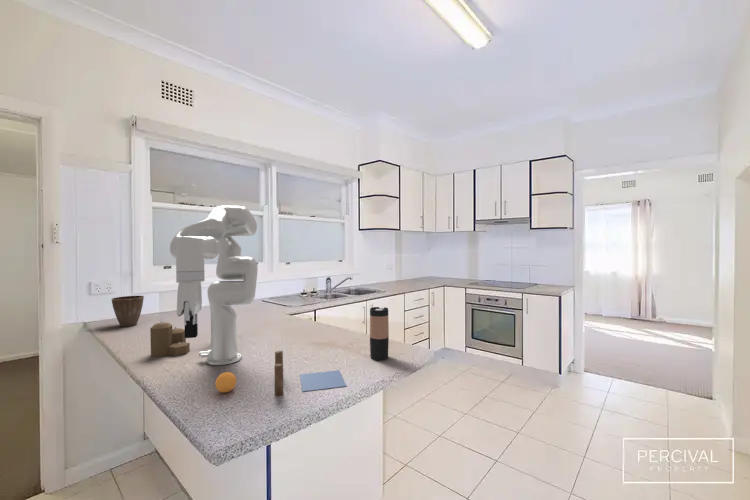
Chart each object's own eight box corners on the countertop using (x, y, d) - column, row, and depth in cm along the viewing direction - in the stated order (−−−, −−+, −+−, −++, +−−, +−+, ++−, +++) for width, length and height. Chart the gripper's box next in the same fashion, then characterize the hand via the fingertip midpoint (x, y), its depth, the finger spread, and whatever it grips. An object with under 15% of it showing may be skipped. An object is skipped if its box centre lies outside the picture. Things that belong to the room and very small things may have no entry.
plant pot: (104, 328, 185) (104, 299, 185) (128, 321, 200) (128, 295, 200) (128, 329, 183) (127, 300, 182) (150, 322, 197) (150, 295, 197)
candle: (153, 360, 134) (153, 323, 133) (148, 352, 144) (147, 317, 143) (191, 353, 143) (191, 318, 142) (184, 345, 153) (183, 313, 152)
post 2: (274, 396, 101) (274, 367, 101) (274, 392, 104) (274, 364, 104) (283, 395, 102) (283, 366, 102) (283, 391, 105) (283, 363, 104)
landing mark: (302, 391, 105) (302, 391, 105) (299, 375, 118) (299, 374, 118) (346, 386, 108) (346, 385, 108) (339, 370, 122) (339, 370, 122)
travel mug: (375, 362, 130) (375, 311, 130) (366, 356, 137) (366, 307, 137) (392, 359, 134) (392, 309, 133) (383, 353, 141) (382, 306, 140)
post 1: (275, 379, 114) (274, 353, 114) (275, 376, 117) (275, 351, 116) (283, 378, 115) (282, 352, 115) (283, 375, 117) (282, 350, 117)
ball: (213, 397, 101) (213, 377, 101) (217, 388, 107) (217, 370, 107) (235, 394, 103) (234, 375, 103) (237, 386, 109) (237, 368, 109)
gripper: (183, 275, 108) (184, 332, 108) (168, 279, 93) (169, 345, 93) (209, 274, 110) (209, 330, 110) (198, 278, 95) (199, 342, 96)
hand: (191, 337), depth 102 cm, fingers closed
